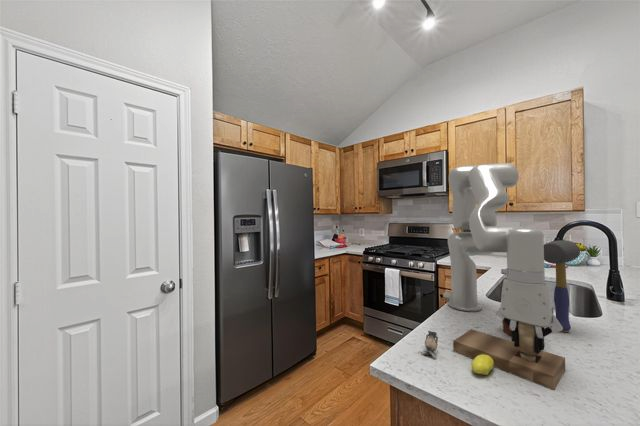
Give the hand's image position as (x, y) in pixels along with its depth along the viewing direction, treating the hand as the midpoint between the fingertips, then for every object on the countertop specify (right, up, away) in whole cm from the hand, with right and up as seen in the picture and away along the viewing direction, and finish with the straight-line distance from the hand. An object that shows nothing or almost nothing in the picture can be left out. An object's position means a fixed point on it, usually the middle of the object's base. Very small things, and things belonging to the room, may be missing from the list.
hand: (527, 347), depth 67 cm
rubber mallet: (+28, -5, +20) cm, 34 cm away
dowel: (0, -4, 0) cm, 4 cm away
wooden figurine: (+11, -5, +16) cm, 21 cm away
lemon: (-12, -6, -1) cm, 13 cm away
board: (-3, -5, +4) cm, 7 cm away
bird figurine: (-21, -6, +8) cm, 23 cm away
